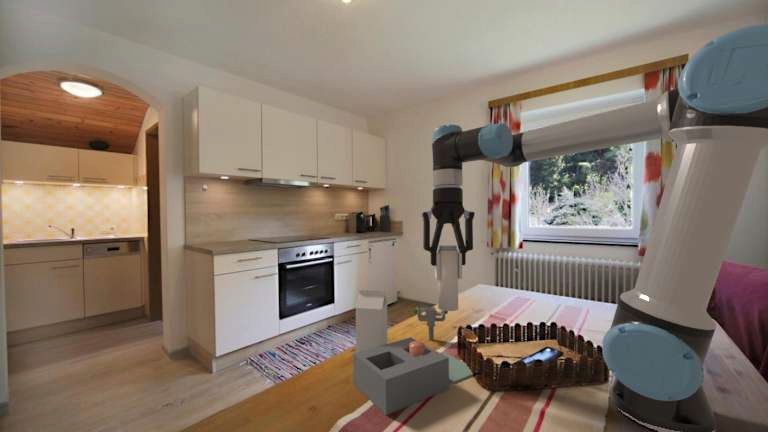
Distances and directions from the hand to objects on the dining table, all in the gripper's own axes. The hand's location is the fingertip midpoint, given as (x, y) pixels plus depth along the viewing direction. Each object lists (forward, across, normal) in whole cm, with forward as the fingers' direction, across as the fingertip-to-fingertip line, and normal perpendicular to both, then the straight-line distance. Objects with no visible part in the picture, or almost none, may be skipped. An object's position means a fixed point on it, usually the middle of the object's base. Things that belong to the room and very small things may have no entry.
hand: (448, 277), depth 79 cm
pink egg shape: (+22, +9, +5) cm, 24 cm away
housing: (+23, +13, +8) cm, 28 cm away
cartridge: (+8, 0, 0) cm, 8 cm away
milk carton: (+23, +20, -6) cm, 31 cm away
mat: (+23, 0, 0) cm, 23 cm away
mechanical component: (+23, +1, -18) cm, 29 cm away
